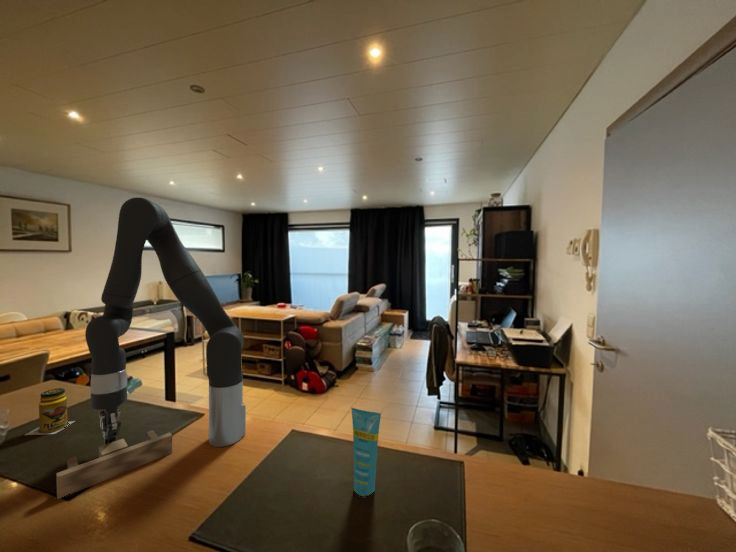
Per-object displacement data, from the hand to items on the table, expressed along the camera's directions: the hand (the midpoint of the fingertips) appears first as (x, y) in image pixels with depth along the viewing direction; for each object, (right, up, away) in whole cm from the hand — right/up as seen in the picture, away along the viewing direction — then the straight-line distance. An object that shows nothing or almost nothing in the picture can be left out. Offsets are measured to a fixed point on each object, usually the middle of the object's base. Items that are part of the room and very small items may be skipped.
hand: (109, 449), depth 81 cm
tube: (+70, -3, -12) cm, 71 cm away
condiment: (-29, -1, +12) cm, 32 cm away
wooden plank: (+6, -2, -4) cm, 7 cm away
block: (+5, -2, -4) cm, 6 cm away
